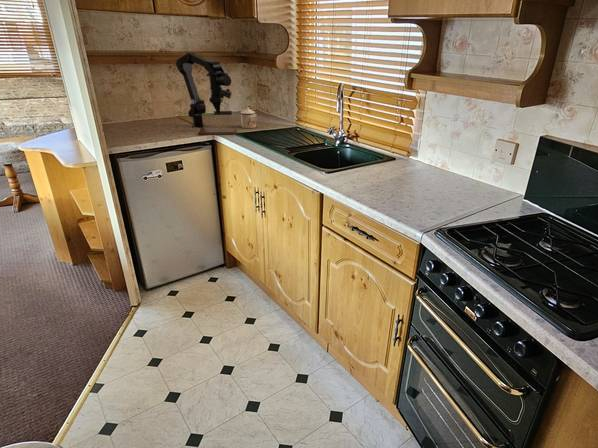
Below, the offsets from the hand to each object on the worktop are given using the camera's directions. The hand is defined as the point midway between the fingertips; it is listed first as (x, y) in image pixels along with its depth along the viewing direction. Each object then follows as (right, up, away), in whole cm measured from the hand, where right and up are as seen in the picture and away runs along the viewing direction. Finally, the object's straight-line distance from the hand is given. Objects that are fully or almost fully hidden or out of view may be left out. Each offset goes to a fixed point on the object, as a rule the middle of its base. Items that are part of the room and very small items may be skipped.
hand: (218, 113), depth 236 cm
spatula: (-1, -1, 0) cm, 2 cm away
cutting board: (0, -13, -3) cm, 13 cm away
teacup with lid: (+16, -5, +15) cm, 22 cm away
